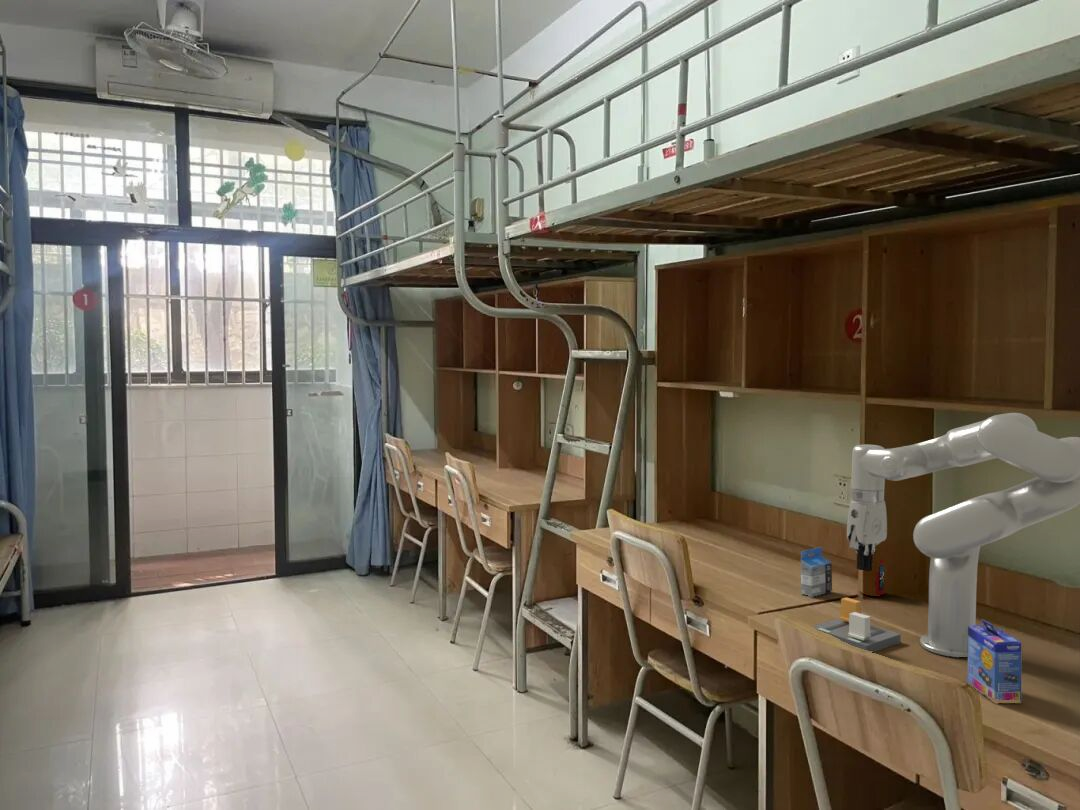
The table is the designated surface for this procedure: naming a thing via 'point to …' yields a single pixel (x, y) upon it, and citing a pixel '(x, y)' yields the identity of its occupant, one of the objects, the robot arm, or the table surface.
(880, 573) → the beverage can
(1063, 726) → the table surface
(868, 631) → the white breaker handle
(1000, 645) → the ink cartridge box
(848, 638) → the breaker panel
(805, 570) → the label tape box
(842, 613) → the orange breaker handle
